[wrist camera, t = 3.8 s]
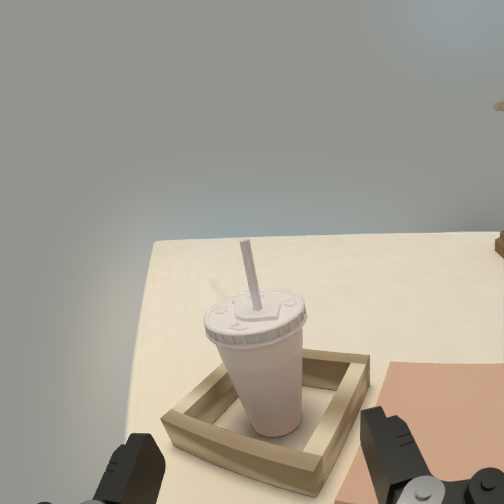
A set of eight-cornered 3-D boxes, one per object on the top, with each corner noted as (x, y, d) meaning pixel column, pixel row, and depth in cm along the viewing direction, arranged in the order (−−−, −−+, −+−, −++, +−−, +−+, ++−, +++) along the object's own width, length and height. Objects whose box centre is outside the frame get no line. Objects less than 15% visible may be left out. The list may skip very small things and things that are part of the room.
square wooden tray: (251, 367, 30) (245, 341, 29) (369, 384, 24) (369, 355, 23) (173, 445, 21) (160, 418, 20) (316, 497, 14) (313, 471, 14)
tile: (390, 368, 25) (390, 361, 25) (537, 369, 17) (539, 361, 17) (334, 505, 14) (334, 499, 13) (555, 509, 6) (561, 503, 6)
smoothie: (266, 464, 18) (216, 264, 14) (220, 419, 23) (169, 249, 20) (336, 416, 21) (318, 228, 18) (283, 383, 26) (254, 223, 23)
